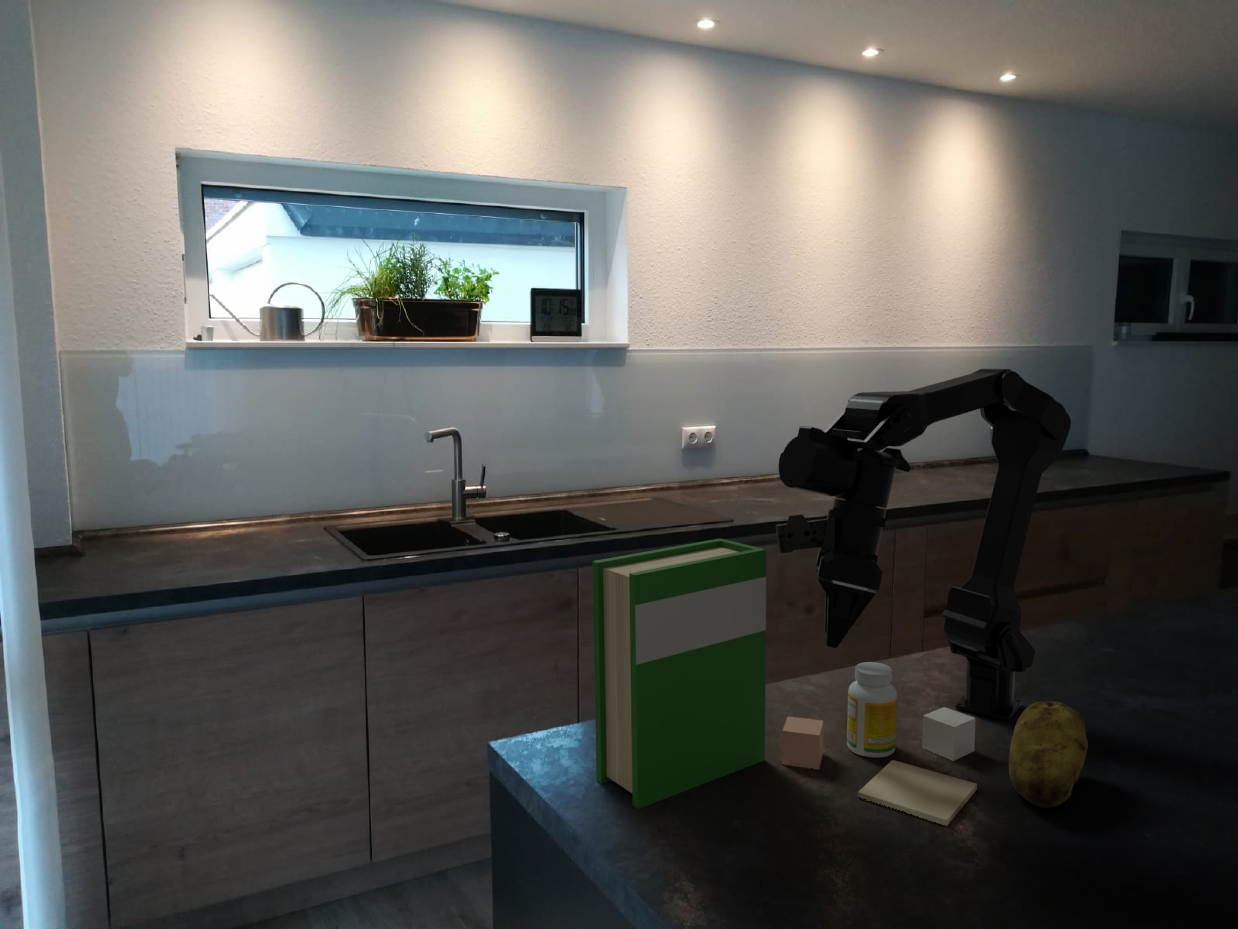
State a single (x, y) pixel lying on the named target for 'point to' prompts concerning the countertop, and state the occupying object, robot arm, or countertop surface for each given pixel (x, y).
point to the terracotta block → (802, 742)
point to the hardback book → (679, 666)
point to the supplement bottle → (872, 711)
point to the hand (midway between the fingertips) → (830, 640)
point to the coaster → (918, 792)
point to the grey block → (948, 733)
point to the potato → (1047, 753)
